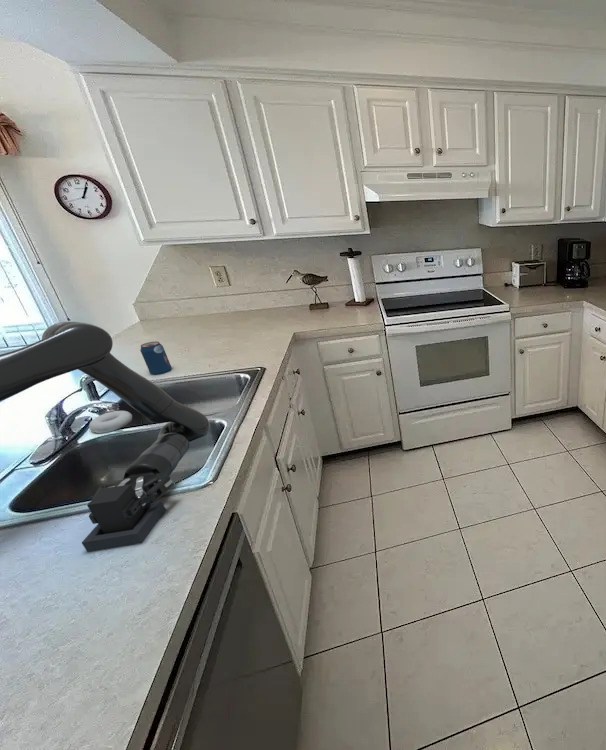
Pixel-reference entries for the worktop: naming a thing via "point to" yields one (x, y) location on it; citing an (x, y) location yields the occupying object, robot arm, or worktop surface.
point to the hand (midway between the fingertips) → (109, 517)
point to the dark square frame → (125, 538)
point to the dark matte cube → (114, 509)
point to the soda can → (155, 358)
